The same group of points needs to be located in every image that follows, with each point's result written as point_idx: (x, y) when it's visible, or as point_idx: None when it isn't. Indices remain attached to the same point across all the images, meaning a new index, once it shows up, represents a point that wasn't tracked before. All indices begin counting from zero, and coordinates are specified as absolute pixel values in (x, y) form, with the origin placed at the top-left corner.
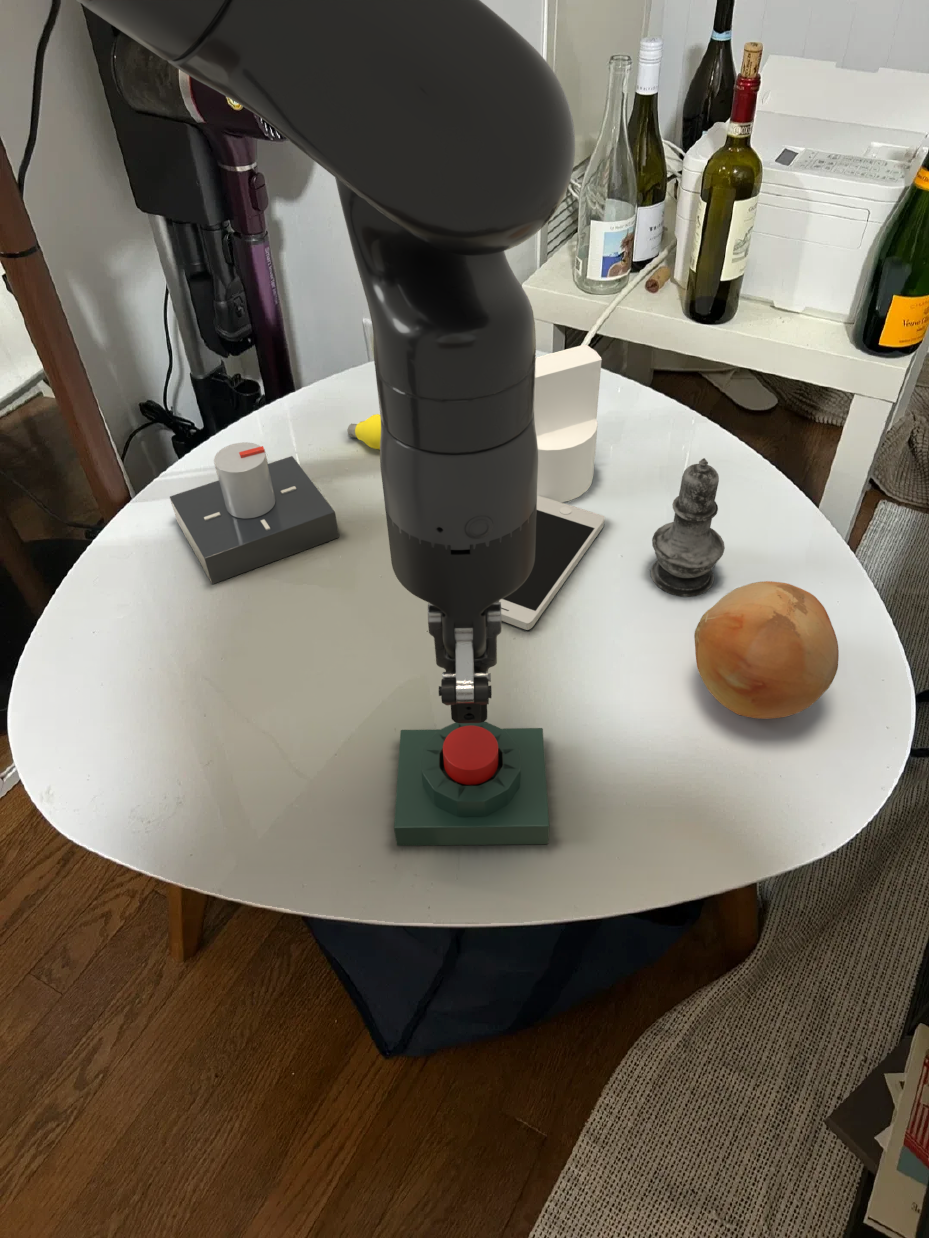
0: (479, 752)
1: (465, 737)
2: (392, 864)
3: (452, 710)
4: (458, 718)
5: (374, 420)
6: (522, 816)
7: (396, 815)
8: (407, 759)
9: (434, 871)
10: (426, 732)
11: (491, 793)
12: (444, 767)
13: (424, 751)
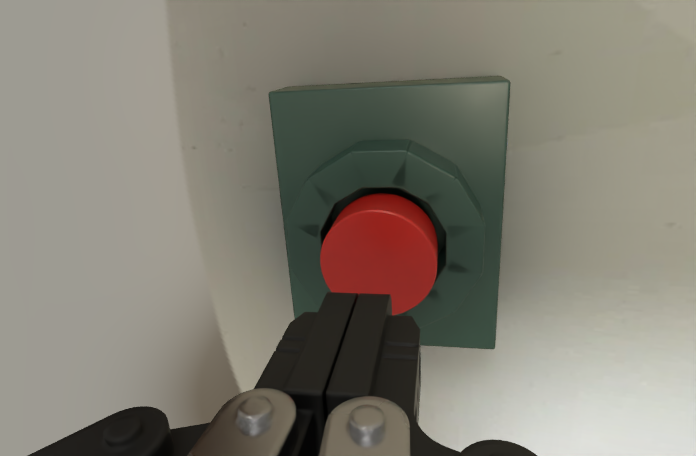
0: (363, 282)
1: (402, 256)
2: (254, 83)
3: (318, 314)
4: (286, 331)
5: None
6: (310, 304)
7: (293, 94)
8: (425, 104)
9: (250, 152)
10: (497, 139)
11: (308, 280)
12: (368, 195)
13: (400, 155)
